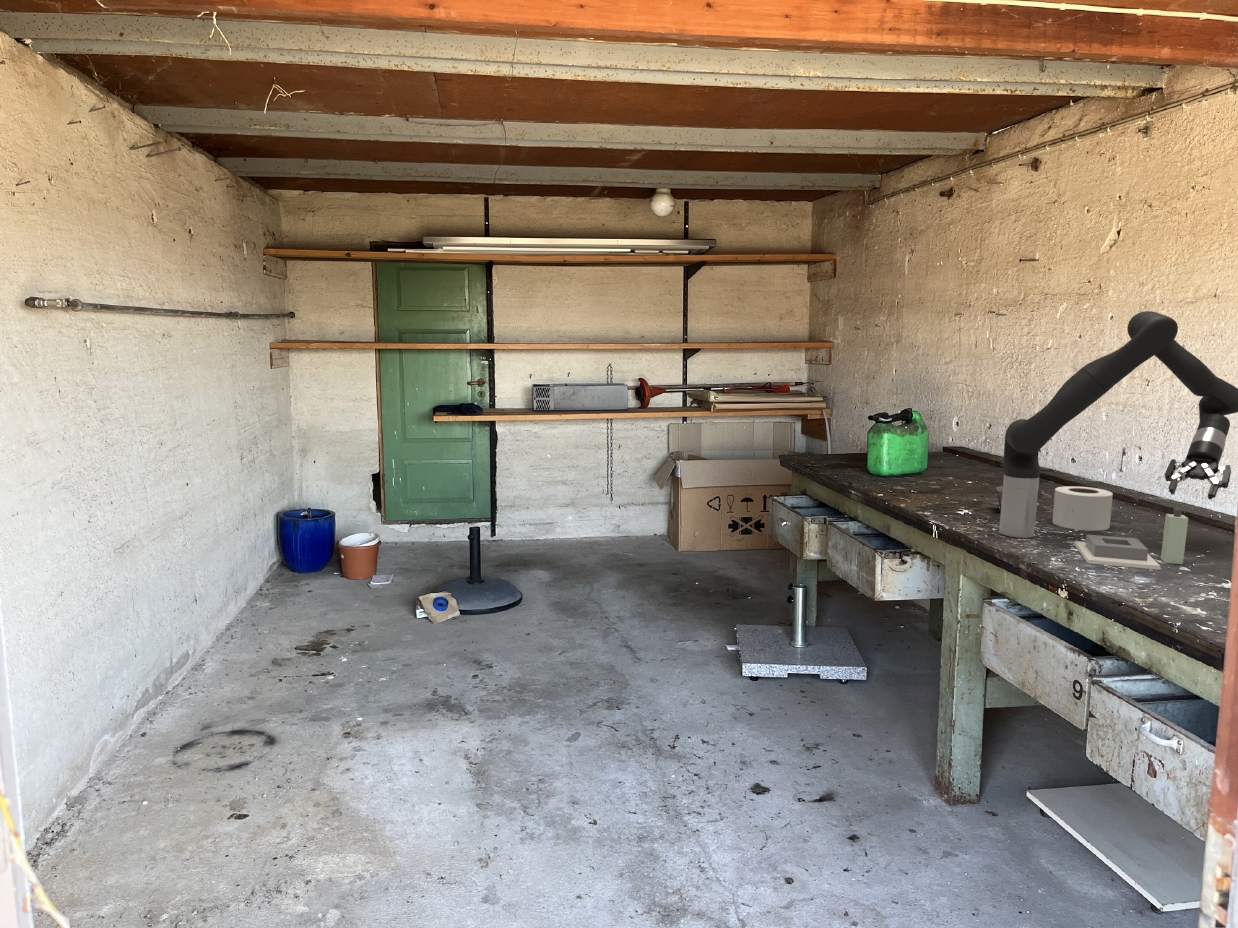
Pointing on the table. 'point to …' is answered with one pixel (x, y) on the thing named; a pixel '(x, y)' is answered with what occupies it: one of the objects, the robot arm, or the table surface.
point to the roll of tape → (1082, 508)
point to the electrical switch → (999, 494)
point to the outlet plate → (1114, 560)
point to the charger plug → (1174, 537)
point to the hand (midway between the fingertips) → (1190, 495)
